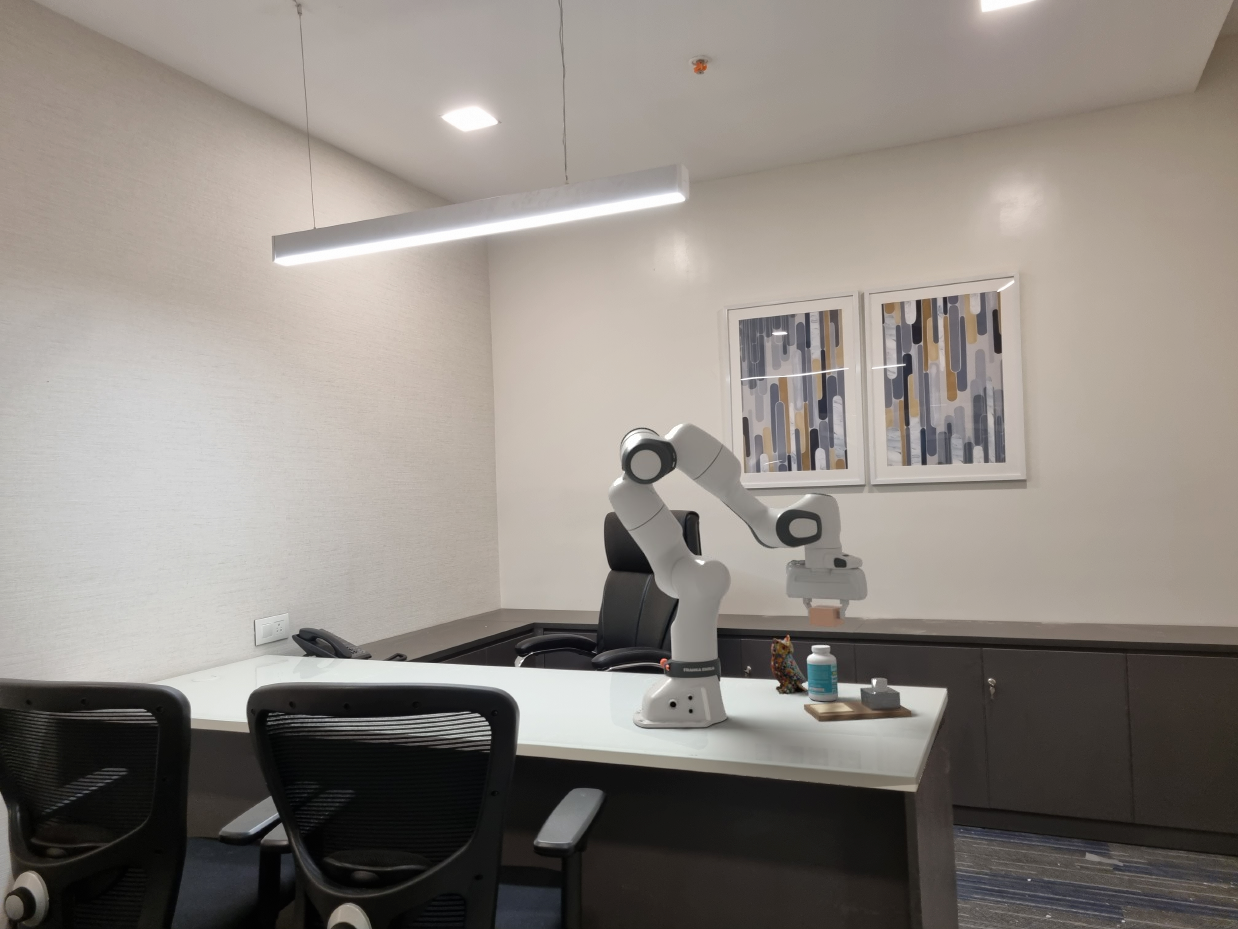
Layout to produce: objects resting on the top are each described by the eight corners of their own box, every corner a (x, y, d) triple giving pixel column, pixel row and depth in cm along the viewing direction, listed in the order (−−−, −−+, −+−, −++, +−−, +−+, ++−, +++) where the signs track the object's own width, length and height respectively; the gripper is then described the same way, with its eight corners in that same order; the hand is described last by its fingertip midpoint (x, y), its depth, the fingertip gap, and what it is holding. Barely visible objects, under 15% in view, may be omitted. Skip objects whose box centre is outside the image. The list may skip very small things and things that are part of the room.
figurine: (802, 695, 220) (799, 638, 221) (768, 693, 224) (766, 637, 225) (809, 689, 228) (806, 633, 228) (777, 687, 231) (774, 633, 232)
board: (818, 721, 193) (818, 714, 193) (804, 709, 205) (803, 703, 205) (911, 716, 194) (911, 709, 194) (891, 704, 206) (891, 698, 206)
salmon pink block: (809, 625, 200) (809, 607, 200) (820, 621, 205) (820, 604, 205) (833, 627, 196) (833, 609, 196) (843, 623, 201) (843, 606, 201)
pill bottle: (839, 702, 211) (836, 648, 211) (809, 702, 212) (806, 648, 213) (837, 696, 218) (834, 643, 219) (808, 695, 219) (805, 644, 220)
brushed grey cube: (871, 710, 196) (870, 683, 196) (861, 703, 203) (859, 677, 203) (900, 708, 196) (899, 681, 197) (889, 702, 203) (887, 675, 204)
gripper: (779, 560, 206) (781, 617, 205) (856, 561, 192) (860, 621, 191) (792, 559, 210) (794, 614, 210) (868, 559, 197) (871, 618, 196)
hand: (826, 617), depth 200 cm, fingers closed on salmon pink block, 6 cm apart
